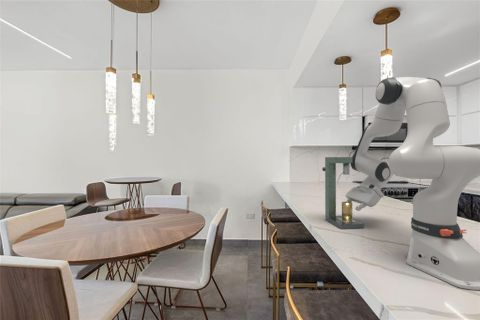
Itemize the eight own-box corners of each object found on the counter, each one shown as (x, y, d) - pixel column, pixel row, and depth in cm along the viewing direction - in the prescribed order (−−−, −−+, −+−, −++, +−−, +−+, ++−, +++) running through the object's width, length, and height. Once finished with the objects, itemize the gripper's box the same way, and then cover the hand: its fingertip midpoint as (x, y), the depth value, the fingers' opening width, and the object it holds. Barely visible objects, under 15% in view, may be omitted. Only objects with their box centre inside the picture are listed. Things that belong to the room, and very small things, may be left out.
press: (364, 227, 111) (364, 157, 110) (339, 228, 110) (339, 157, 109) (339, 215, 133) (339, 156, 132) (319, 216, 132) (319, 157, 131)
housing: (354, 220, 115) (354, 203, 115) (345, 221, 115) (345, 203, 115) (348, 218, 120) (348, 201, 120) (339, 218, 120) (339, 201, 120)
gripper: (352, 182, 128) (336, 199, 128) (378, 187, 108) (359, 208, 107) (360, 189, 129) (344, 207, 128) (387, 196, 108) (368, 217, 108)
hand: (351, 207), depth 117 cm, fingers open, 8 cm apart
